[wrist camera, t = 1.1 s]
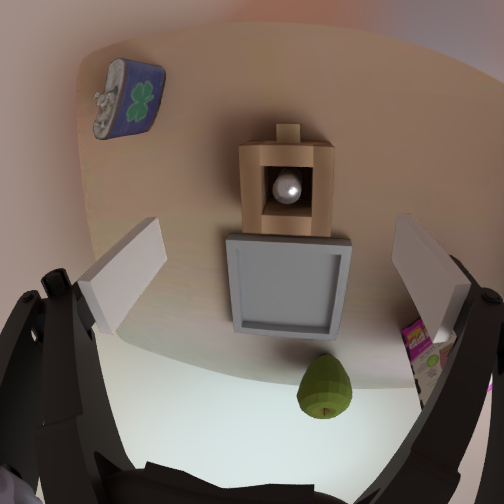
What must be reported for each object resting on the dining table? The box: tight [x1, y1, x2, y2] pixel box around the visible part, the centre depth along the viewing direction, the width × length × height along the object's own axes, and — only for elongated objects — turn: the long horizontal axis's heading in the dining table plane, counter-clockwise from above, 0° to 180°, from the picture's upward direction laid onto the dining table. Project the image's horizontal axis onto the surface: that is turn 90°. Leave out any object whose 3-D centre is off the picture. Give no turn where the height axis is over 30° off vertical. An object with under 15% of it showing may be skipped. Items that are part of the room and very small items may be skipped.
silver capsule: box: [273, 167, 302, 204], centre depth 29 cm, size 3×3×6 cm
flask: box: [93, 58, 166, 140], centre depth 25 cm, size 9×3×11 cm, turn 160°
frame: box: [238, 124, 335, 237], centre depth 29 cm, size 9×11×6 cm
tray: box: [226, 233, 352, 340], centre depth 38 cm, size 15×15×2 cm
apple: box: [297, 354, 352, 419], centre depth 39 cm, size 9×8×12 cm
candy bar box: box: [401, 317, 492, 410], centre depth 29 cm, size 11×5×16 cm, turn 140°
